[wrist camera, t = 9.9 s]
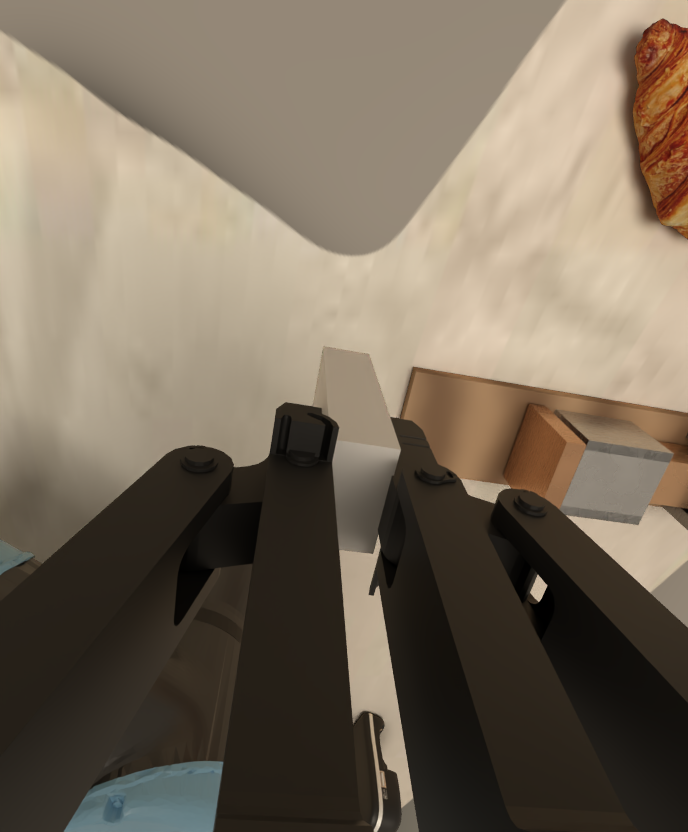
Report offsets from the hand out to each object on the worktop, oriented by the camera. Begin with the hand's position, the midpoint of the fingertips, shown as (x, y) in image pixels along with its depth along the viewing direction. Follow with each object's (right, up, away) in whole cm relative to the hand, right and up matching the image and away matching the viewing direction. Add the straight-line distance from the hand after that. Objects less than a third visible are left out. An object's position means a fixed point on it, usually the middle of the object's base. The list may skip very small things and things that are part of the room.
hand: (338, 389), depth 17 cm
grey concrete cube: (+21, -4, +29) cm, 35 cm away
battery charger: (+3, -38, +44) cm, 58 cm away
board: (+21, -3, +30) cm, 36 cm away
